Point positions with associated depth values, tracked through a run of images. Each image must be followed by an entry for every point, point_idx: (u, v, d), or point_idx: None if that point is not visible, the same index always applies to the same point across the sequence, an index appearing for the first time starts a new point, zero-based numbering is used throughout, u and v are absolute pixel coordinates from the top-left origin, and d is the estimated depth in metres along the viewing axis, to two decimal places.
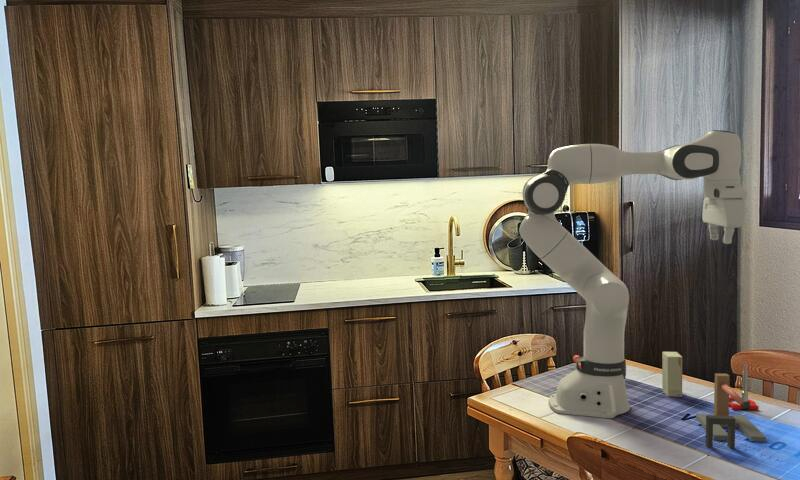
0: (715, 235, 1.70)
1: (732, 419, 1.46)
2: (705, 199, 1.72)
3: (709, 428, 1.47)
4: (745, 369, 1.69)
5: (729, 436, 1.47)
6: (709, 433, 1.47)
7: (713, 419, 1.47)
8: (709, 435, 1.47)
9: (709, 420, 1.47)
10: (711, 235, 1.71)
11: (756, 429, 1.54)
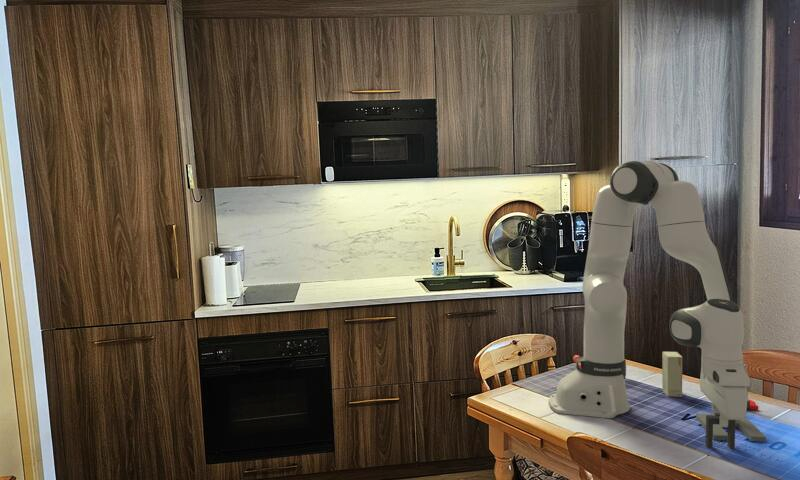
0: None
1: None
2: None
3: (709, 428, 1.47)
4: (745, 369, 1.69)
5: (729, 436, 1.47)
6: (709, 433, 1.47)
7: (713, 419, 1.47)
8: (708, 435, 1.47)
9: (709, 420, 1.47)
10: None
11: (756, 429, 1.54)
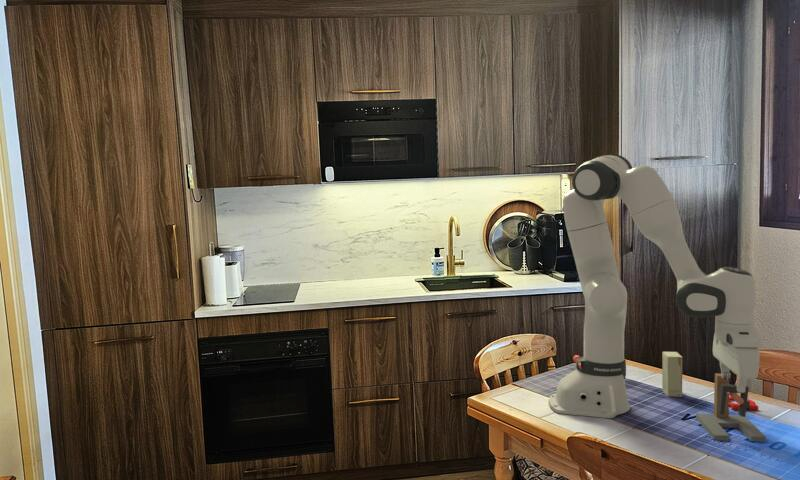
0: (727, 375, 1.59)
1: (745, 388, 1.53)
2: None
3: (723, 395, 1.54)
4: None
5: (741, 404, 1.55)
6: (722, 400, 1.55)
7: (727, 387, 1.54)
8: (721, 402, 1.55)
9: (723, 388, 1.54)
10: (722, 374, 1.59)
11: (756, 429, 1.54)
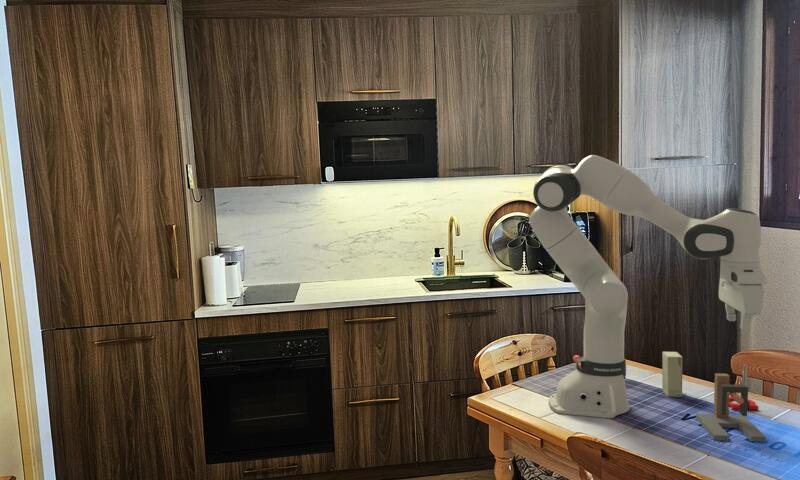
0: (732, 316, 1.61)
1: (745, 387, 1.53)
2: None
3: (723, 396, 1.54)
4: (745, 369, 1.70)
5: (742, 404, 1.55)
6: (723, 401, 1.55)
7: (727, 387, 1.54)
8: (722, 403, 1.55)
9: (723, 388, 1.54)
10: (728, 315, 1.62)
11: (756, 429, 1.54)
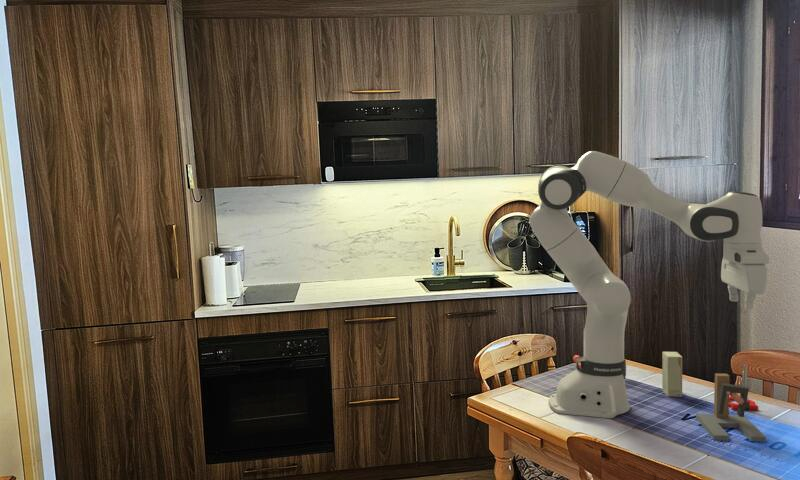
0: (735, 296, 1.66)
1: (745, 389, 1.53)
2: (724, 258, 1.68)
3: (722, 395, 1.54)
4: (745, 369, 1.69)
5: (740, 405, 1.55)
6: (722, 399, 1.55)
7: (727, 387, 1.54)
8: (721, 402, 1.55)
9: (724, 387, 1.54)
10: (730, 296, 1.66)
11: (756, 429, 1.54)
